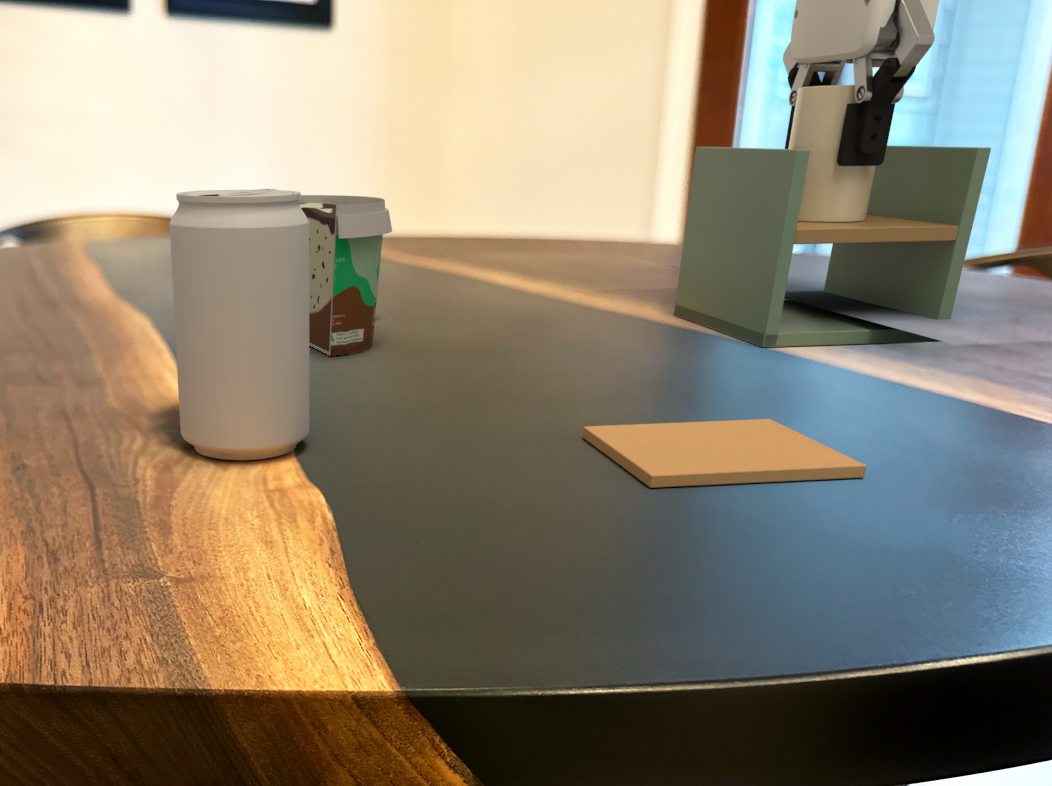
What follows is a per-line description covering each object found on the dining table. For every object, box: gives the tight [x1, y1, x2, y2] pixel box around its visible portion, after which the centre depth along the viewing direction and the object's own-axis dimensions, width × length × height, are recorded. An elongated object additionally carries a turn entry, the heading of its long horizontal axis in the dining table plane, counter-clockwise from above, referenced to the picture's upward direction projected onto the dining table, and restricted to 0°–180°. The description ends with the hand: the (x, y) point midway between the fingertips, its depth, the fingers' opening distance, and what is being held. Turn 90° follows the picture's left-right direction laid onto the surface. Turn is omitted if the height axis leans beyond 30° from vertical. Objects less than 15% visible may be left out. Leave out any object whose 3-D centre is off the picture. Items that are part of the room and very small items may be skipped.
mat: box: [582, 418, 867, 489], centre depth 48 cm, size 10×8×1 cm
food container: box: [299, 194, 393, 357], centre depth 73 cm, size 12×6×10 cm, turn 22°
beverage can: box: [168, 188, 310, 461], centre depth 48 cm, size 6×6×12 cm
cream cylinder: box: [788, 84, 876, 222], centre depth 74 cm, size 6×6×9 cm
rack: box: [673, 145, 992, 348], centre depth 76 cm, size 14×14×13 cm
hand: (830, 161), depth 74 cm, fingers closed on cream cylinder, 6 cm apart
